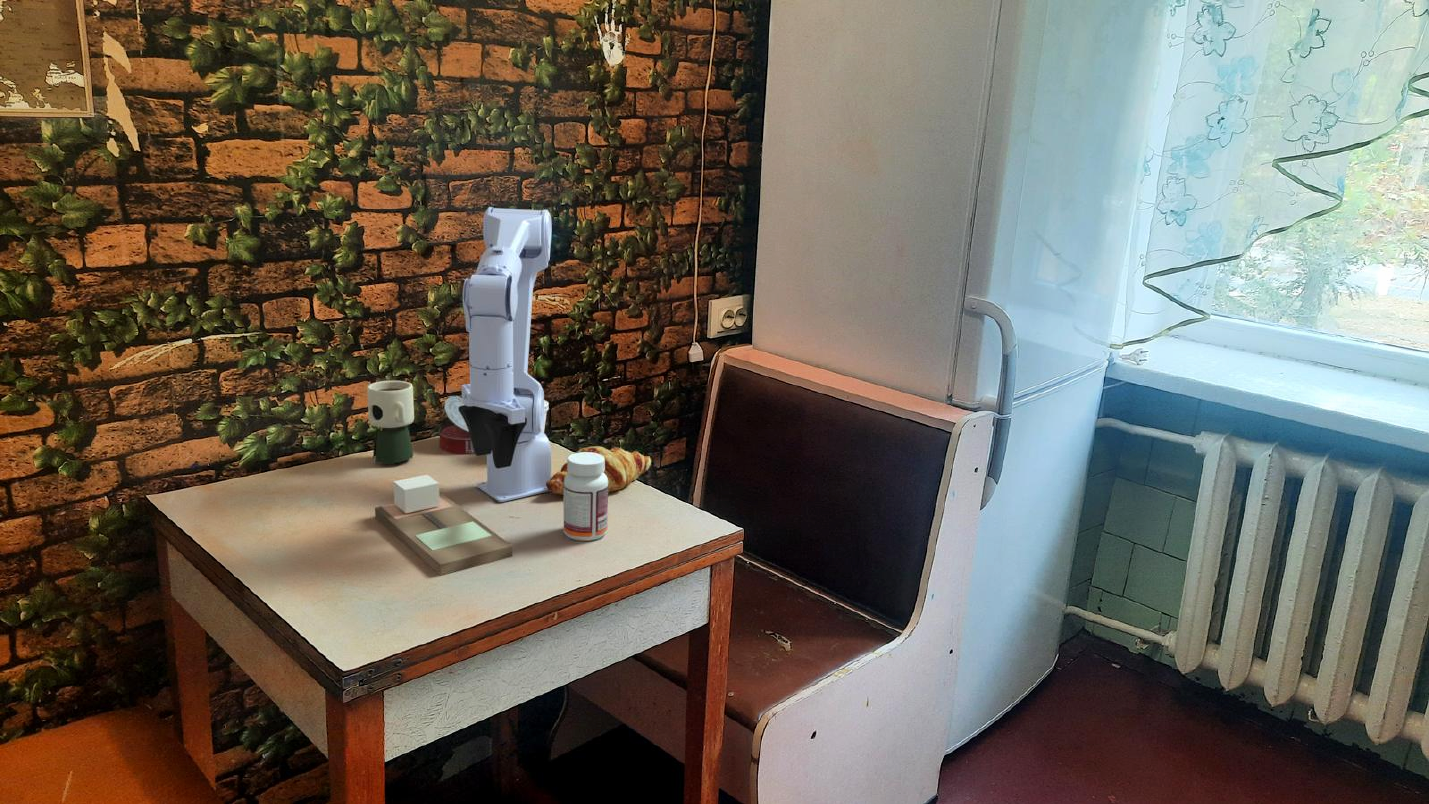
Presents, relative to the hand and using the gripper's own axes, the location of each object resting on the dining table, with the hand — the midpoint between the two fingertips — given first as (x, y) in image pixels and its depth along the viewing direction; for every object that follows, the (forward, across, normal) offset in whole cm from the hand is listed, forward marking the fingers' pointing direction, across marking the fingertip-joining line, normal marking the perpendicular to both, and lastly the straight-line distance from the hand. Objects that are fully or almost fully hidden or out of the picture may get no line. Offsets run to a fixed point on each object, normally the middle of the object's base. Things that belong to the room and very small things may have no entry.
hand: (492, 460), depth 130 cm
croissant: (+11, -7, +22) cm, 26 cm away
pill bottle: (+11, +8, +10) cm, 17 cm away
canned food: (+10, -35, +13) cm, 39 cm away
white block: (+9, -10, -7) cm, 15 cm away
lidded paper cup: (+10, -24, +19) cm, 33 cm away
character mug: (+10, -34, -1) cm, 36 cm away
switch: (+10, -2, -7) cm, 13 cm away
